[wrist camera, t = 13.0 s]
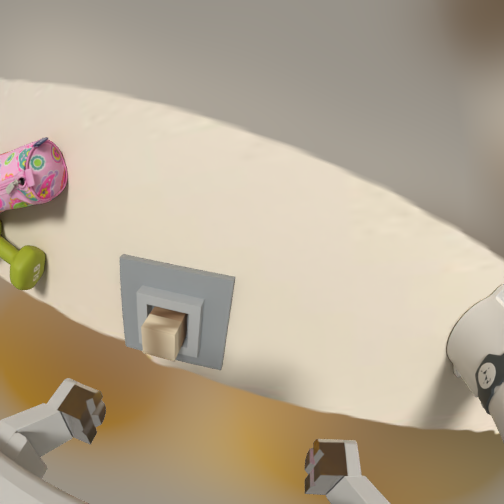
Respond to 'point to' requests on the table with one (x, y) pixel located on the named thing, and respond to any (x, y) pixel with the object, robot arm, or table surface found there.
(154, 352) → the stack block
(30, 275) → the dumbbell
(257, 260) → the table surface
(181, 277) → the socket board
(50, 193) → the pencil case
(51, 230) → the table surface
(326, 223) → the table surface
